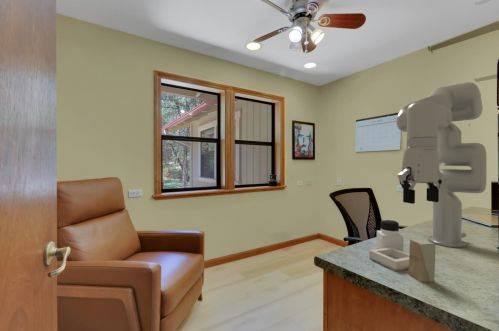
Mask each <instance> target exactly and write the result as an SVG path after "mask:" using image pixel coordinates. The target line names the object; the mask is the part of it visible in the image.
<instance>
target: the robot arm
mask: <svg viewBox="0 0 499 331" xmlns="http://www.w3.org/2000/svg"><path fill="white" fill-rule="evenodd" d="M480 91H481V90H480V88H479V87H478V85H477V84H476V83H474V82H472V81H471V82H463V83H456V84H452V85H451V84H450V85H445V86H441V87H438V88H436V89H434V90H433V91H431V93H429V95H428V96H426V97H424V98H421V99H419V100H417V101H414V102H411V103H409V104H406V105H404V106H403V107H402V108H401V109H400V110H399V111H398V114H397V117H396V122H395V123H396V127H397V129H398V130H399V131H401V132H403V133H406V149H404V153H403V157H402V163H401V164H402V165H401V171H400V172H399V173H398V174H397V179H398V180H399V185H400V186H401V189H402V202H403V203H405V204H410V205H411V204H412V205H414V204H415V203H416V189H414V188H415V186H416V185H417V184H426V186H427V187H426V201H427V202H432V205H433V206H432V235H430V236H428V238H427V241H429V242H431V243H434V244H436V245H440V246H444V247H449V248H465V247H467V242H465V240H462V238H466V237H467V233H466V232H462V224H463V223H462V221H463V220H462V217H463V216H462V215H463V214H462V212H463V211H462V210H463V204H462V201H461V199H460V198H459V197H458V196H457V195H456V194H455V193H464V194H465V193H466V194H482V193H483V192H485V190H486V189H487V188H486V187H487V149H486V147H485V146H484V144H482V143H479V142H462V135H463V134H462V131H461V129H460V127H458V126H457V125H456V124H454V123H453V122H460V121H462V122H463V121H472V120H476V119H478V118H480V116H481V115H482V113H483V101H482V95H481V92H480ZM440 166H443V167H445V166H446V167H469V168H470V169H458V168H457V169H456V168H455V169H454V168H441V169H440Z"/></svg>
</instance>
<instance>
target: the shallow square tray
mask: <svg viewBox="0 0 499 331" xmlns="http://www.w3.org/2000/svg"><path fill="white" fill-rule="evenodd" d="M368 257H369V259H370V260H372V261H374V262H375V263H378V264H380V265H382V266H384V267H387V268H388V269H391V270H393V271H394V272H399V271H404V270H409V252H406V251H404V250H403V251H401V250H398V249H395V248H393V247H388V248H382V249H378V248H376V249H370V250H369V256H368Z"/></svg>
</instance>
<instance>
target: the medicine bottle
mask: <svg viewBox="0 0 499 331" xmlns="http://www.w3.org/2000/svg"><path fill="white" fill-rule="evenodd" d="M399 225H400V224H399V222H398V221H396V220H395V219H393V220H392V219H382V220H380V230H378V229H377V230H376V249H382V248H388V247H393V248H395V249H398V250H401V251H403V252H404V236H403V235H401V233H399V232H400V231H399V230H400V226H399Z"/></svg>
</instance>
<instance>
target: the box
mask: <svg viewBox="0 0 499 331" xmlns="http://www.w3.org/2000/svg"><path fill="white" fill-rule="evenodd" d="M436 247H437V244H435V243H433V242H430V241H429V240H426V239H424V238H409V252H408V253H409V269H408V275H409V276H411V277H412V278H415V279H416V280H417V281H419V282H420V283H425V282H426V283H427V282H428V283H431V282H435V272H436V271H435V270H436V266H435V265H436V249H437V248H436Z"/></svg>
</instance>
